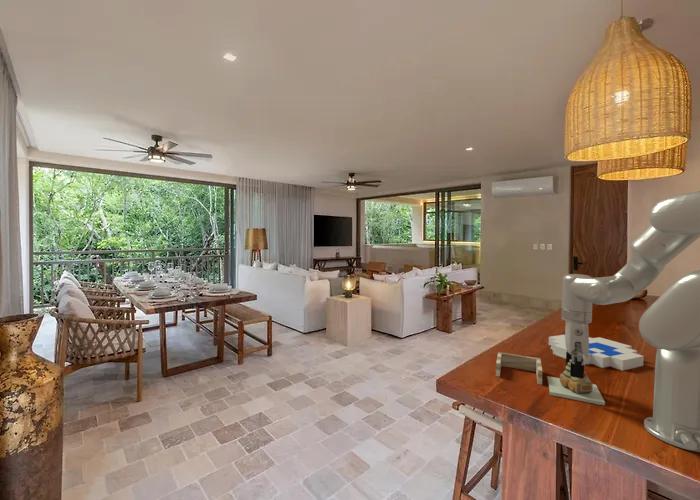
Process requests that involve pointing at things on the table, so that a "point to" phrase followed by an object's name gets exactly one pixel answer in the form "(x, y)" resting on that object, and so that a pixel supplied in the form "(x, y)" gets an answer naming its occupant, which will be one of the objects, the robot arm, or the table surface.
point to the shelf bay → (519, 364)
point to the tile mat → (565, 392)
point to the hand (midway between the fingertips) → (574, 371)
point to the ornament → (575, 381)
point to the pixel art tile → (602, 353)
